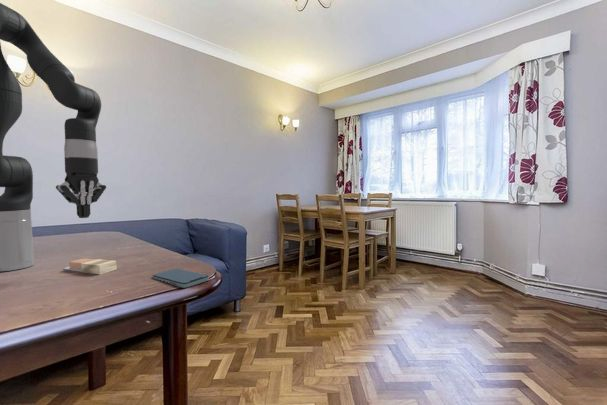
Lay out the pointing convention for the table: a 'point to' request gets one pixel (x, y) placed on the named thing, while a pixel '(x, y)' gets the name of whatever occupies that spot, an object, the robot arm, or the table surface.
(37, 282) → the table surface
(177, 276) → the smartphone
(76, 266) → the tile
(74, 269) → the mat
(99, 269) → the deck
